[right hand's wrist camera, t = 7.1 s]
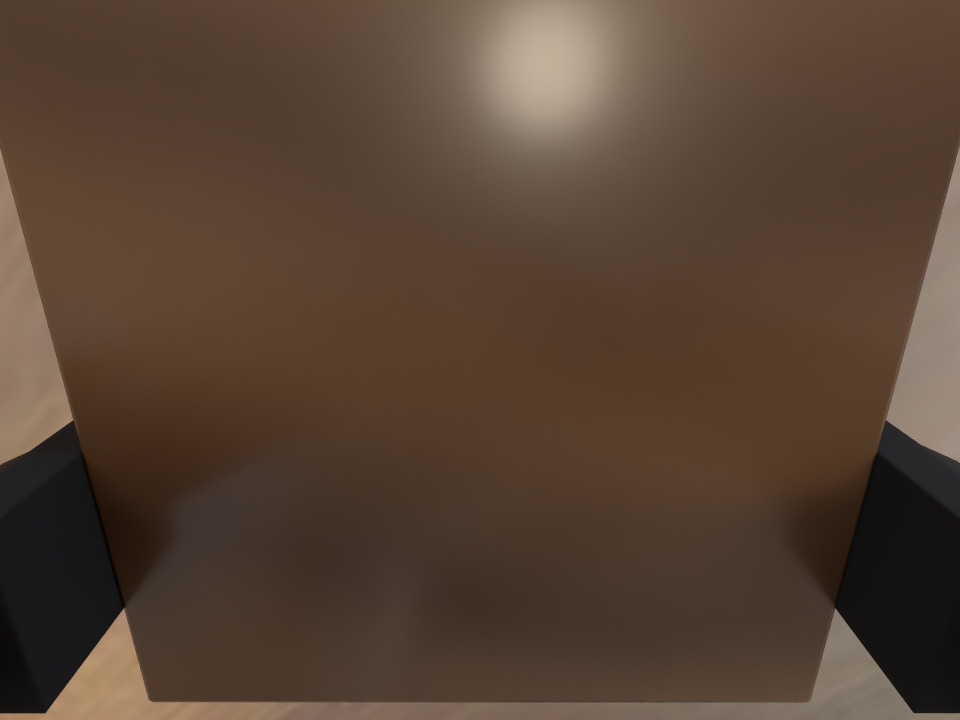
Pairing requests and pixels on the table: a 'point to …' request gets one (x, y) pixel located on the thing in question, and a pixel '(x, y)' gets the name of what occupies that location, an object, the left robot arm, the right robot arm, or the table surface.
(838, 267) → the cabinet
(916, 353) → the table surface
